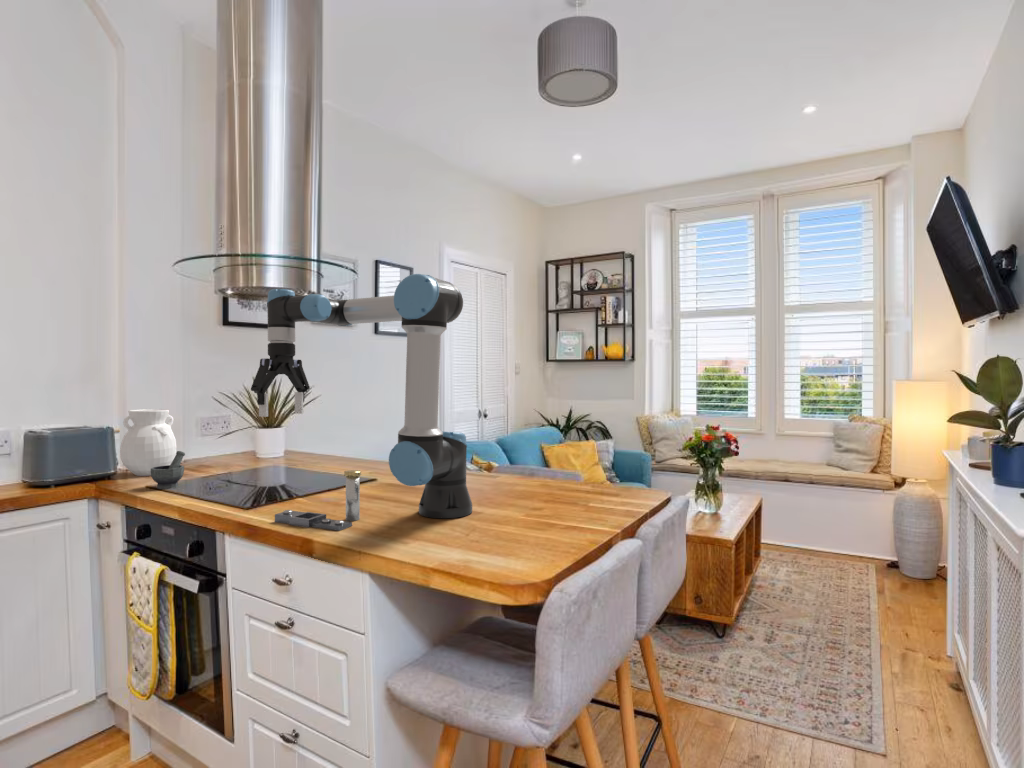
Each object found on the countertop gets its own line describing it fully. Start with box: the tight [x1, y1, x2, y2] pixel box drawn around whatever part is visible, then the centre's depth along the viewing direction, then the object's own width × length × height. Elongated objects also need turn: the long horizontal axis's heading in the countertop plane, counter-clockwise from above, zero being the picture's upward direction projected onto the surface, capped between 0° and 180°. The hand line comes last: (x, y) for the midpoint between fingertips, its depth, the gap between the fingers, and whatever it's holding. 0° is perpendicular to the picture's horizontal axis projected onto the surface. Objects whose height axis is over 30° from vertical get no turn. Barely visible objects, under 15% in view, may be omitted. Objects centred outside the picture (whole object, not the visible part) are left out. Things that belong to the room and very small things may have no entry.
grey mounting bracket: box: [274, 509, 353, 532], centre depth 147 cm, size 21×6×3 cm, turn 67°
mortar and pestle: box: [150, 450, 186, 490], centre depth 195 cm, size 11×9×12 cm
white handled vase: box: [119, 408, 177, 477], centre depth 219 cm, size 19×18×25 cm
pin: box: [343, 469, 362, 522], centre depth 152 cm, size 4×4×13 cm
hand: (282, 415), depth 166 cm, fingers open, 13 cm apart
